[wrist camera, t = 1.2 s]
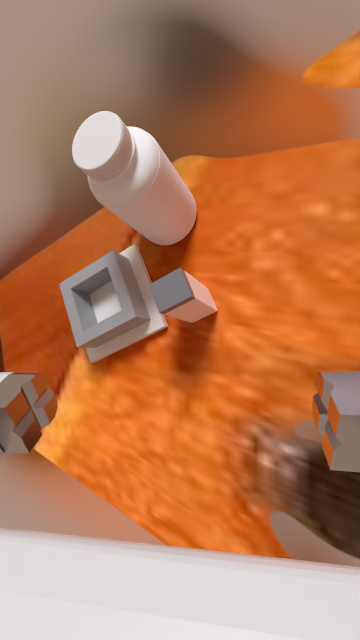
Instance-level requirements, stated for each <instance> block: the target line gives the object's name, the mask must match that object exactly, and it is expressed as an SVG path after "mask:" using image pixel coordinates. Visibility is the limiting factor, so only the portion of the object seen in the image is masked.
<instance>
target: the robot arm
mask: <svg viewBox="0 0 360 640" xmlns="http://www.w3.org/2000/svg"><path fill="white" fill-rule="evenodd" d="M49 385H50V382H49V380H48V378H47V376H46V375H45V374H43V373H23V372H14V373H12V372H1V373H0V457H1V456H2V455H4V453H30V451H31V450H32V449H33V447H34V446H35V444H36V443H37V442H38V440H39V439H40V437H41V436H42V429H43V428H44V427H46V426H47V425H49V424H50V423H51V421H52V420H53V418H54V417H55V415H56V411H57V399H56V396H55V394H54V393H53V392H52V391H51V390H49V389H48V387H49ZM315 386H316V388H317V391H318V393H317V394H316V395H315V396H313V406H312V407H313V418H314V423H315V426H316V429H317V432H318V433H319V434H320V435H322V436H323V444H322V447H323V450H324V453H325V456H326V459H327V462H328V465H329V467H330V470H338V471H351V472H360V371H358V372H317V375H316V378H315ZM0 640H360V567H356V566H347V565H338V564H328V563H320V562H310V561H302V560H293V559H284V558H275V557H266V556H257V555H248V554H239V553H230V552H221V551H212V550H203V549H194V548H185V547H176V546H168V545H158V544H150V543H141V542H140V543H139V542H132V541H122V540H114V539H104V538H96V537H87V536H77V535H67V534H59V533H50V532H40V531H32V530H23V529H14V528H5V527H0Z"/></svg>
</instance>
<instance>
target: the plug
mask: <svg viewBox="0 0 360 640" xmlns="http://www.w3.org/2000/svg"><path fill="white" fill-rule="evenodd" d="M149 287H150V290H151V292H152V295H153V298H154V301H155V303H156V306H157V309H158V311H159V313H161V314H164V315H167V316H170V317H174V318H177V319H180V320H183V321H187V322H190V323H193V322H195V321H198V320H200V319H202V318H204V317H206V316H208V315H210V314H212V313H214V312H216V311H218V310H217V308H216V306H215V303H214V301H213V299H212V296H211V294H210V292H209V289H208V288H207V287H205V286H204V285H203V284H201V283H200V282H199V281H198V280H196V279H195V278H194V277H192V276H191V275H190V274H188V273H187V272H186V271H184V270H183V269H182V268H178V269H176V270H174V271H173V272H171V273H169V274H167V275H165V276H164V277H162V278H160V279H158V280H156V281H155V282H153V283H151V284H149Z"/></svg>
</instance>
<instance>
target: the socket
mask: <svg viewBox="0 0 360 640" xmlns="http://www.w3.org/2000/svg"><path fill="white" fill-rule="evenodd" d="M151 283H152V282H151V279H150V276H149V274H148V271H147V268H146V266H145V263H144V260H143V258H142V255H141V252H140V250H139V247H138V246H137V245H135V244H134V245H132V246H131V247H129V248H127V249H126V250H124V251H122V252H121V253H118V252H116V251H114V250H113V251H111V252H110V253H108V254H106V255H105V256H103V257H102V258H100V259H98V260H97V261H95V262H93V263H92V264H90V265H89V266H87V267H85V268H84V269H82V270H81V271H79V272H77V273H76V274H74V275H73V276H71V277H69V278H68V279H66V280H65V281H63V282H61V283H60V288H61V291H62V295H63V299H64V302H65V306H66V309H67V313H68V317H69V320H70V324H71V327H72V331H73V335H74V338H75V342H76V345H77V347H84V348H86V351H87V354H88V358H89V361H90V363H94V362H97V361H99V360H101V359H103V358H105V357H107V356H109V355H111V354H113V353H115V352H117V351H119V350H121V349H123V348H125V347H128V346H130V345H132V344H134V343H136V342H138V341H140V340H142V339H144V338H146V337H148V336H150V335H152V334H154V333H156V332H158V331H160V330H163V329H165V328H167V327H168V324H167V322H166V319H165V316H164V314H161V313H159V311H158V309H157V306H156V303H155V301H154V298H153V295H152V292H151V290H150V287H149V284H151Z"/></svg>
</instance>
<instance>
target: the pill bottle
mask: <svg viewBox="0 0 360 640" xmlns="http://www.w3.org/2000/svg"><path fill="white" fill-rule="evenodd" d="M72 154H73V159H74V162H75V164H76V166H77V167H78V168H79V169H80V170H82V171H83V172H84V173H85V174H86V175H88V182H89V186H90V189H91V191H92V193H93V194H94V196H95V198H96V199H97V200H98V201H99V202H100V203H101V204H102V205H103V206H105V207H106V208H107V209H109V210H110V211H111V212H112V213H114V214H115V215H116V216H118V217H119V218H120V219H122V220H123V221H124V222H126V223H127V224H128V225H130V226H131V227H132V228H134V229H135V230H136V231H138V232H139V233H140V234H142V235H143V236H144V237H146V238H147V239H148V240H150V241H151V242H153V243H156V244H159V245H171V244H174V243H177V242H179V241H180V240H182V239H183V238H184V237H186V236H187V234H188V233H189V232H190V231H191V229H192V227H193V225H194V223H195V220H196V215H197V207H196V203H195V200H194V198H193V196H192V194H191V192H190V191H189V189H188V188H187V186H186V185H185V183H184V182H183V180H182V179H181V177H180V176H179V174H178V173H177V171H176V170H175V168H174V167H173V165H172V164H171V162H170V161H169V160H168V158H167V157H166V155H165V154H164V152H163V151H162V149H161V148H160V146H159V145H158V143H157V142H156V140H155V139H154V138H153V137H152V136H151V135H150V134H149V133H147V132H146V131H144V130H142V129H140V128H137V127H126V126H125V124H124V123H123V122H122V120H121V119H120V118H119V117H118V116H117V115H116V114H115V113H112V112H109V111H102V112H98V113H95V114H93V115H92V116H90V117H89V118H88V119H86V120H85V121H84V122H83V124H82V125H81V126H80V128H79V129H78V131H77V133H76V135H75V138H74V141H73V145H72Z"/></svg>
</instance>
